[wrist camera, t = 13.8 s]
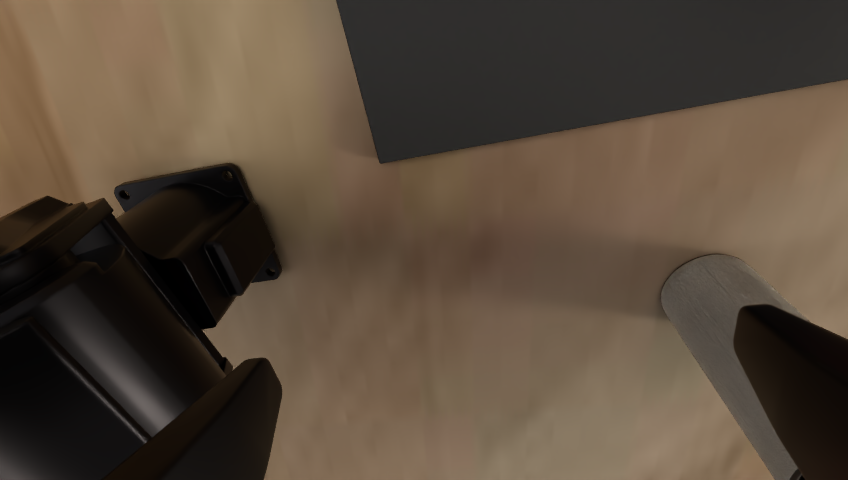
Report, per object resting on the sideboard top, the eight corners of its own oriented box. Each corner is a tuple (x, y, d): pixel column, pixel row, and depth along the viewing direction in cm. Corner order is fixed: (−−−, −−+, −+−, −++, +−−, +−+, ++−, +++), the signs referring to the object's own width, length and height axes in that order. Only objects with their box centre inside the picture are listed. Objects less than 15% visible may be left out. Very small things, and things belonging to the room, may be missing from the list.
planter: (673, 251, 22) (826, 431, 13) (767, 254, 22) (988, 440, 13) (649, 321, 24) (765, 516, 15) (734, 325, 24) (901, 524, 15)
